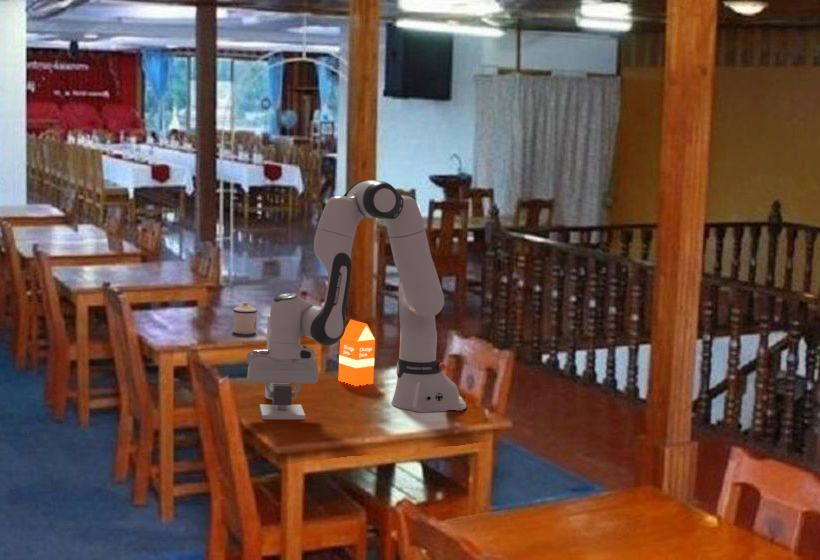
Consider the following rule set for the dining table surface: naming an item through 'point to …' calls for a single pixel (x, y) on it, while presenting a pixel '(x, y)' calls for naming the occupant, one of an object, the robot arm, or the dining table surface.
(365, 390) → the dining table surface
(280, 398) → the dark grey cube block
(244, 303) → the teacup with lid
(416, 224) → the robot arm
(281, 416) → the shaft base
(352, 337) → the orange juice
